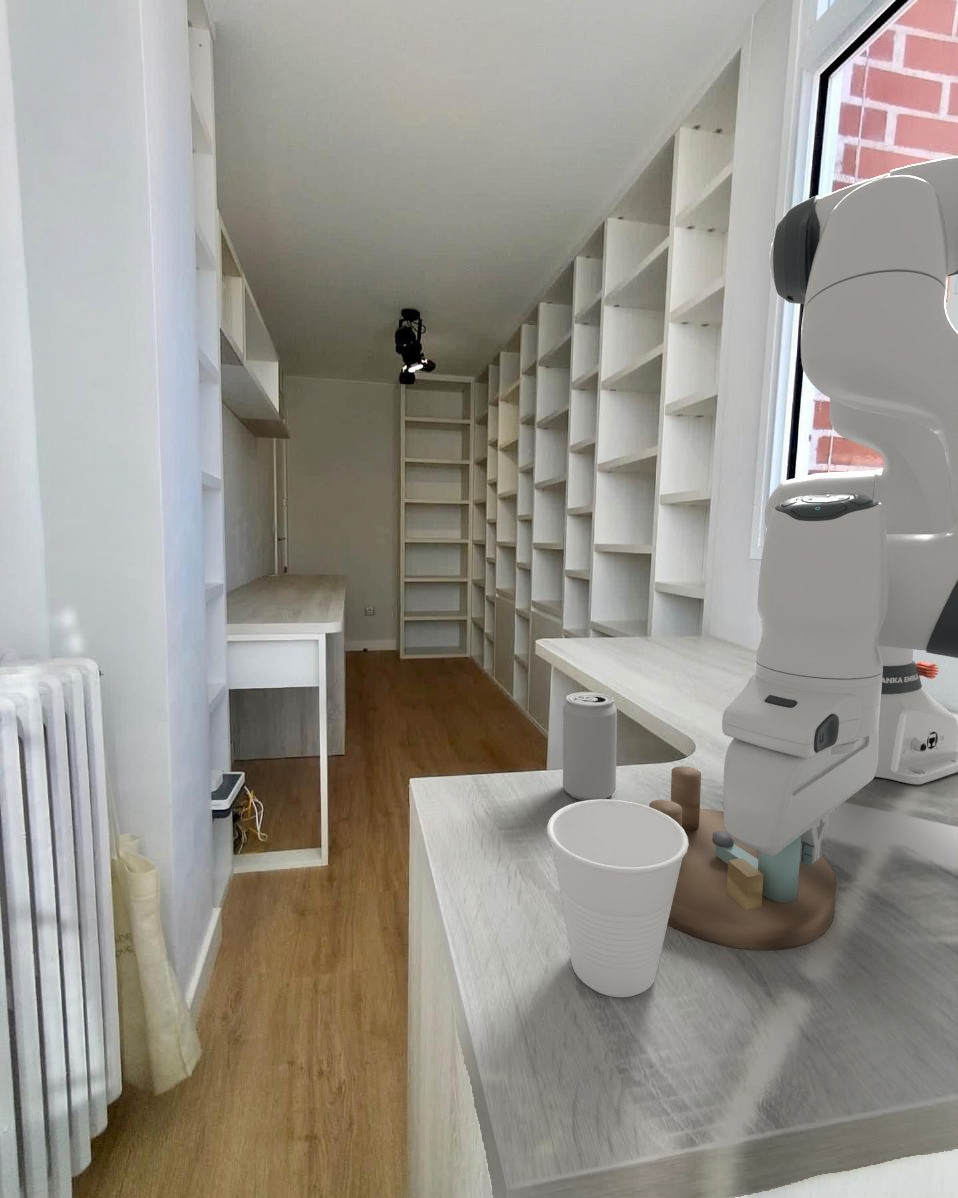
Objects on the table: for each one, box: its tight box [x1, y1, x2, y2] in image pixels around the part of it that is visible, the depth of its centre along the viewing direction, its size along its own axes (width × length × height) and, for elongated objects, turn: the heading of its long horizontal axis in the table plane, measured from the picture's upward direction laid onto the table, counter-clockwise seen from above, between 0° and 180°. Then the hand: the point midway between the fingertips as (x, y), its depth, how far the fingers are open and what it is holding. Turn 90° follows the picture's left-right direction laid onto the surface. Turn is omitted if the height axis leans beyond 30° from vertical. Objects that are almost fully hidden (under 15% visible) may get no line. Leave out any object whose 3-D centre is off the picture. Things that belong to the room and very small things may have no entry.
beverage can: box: [562, 691, 618, 801], centre depth 73 cm, size 6×6×12 cm
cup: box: [546, 798, 689, 998], centre depth 44 cm, size 10×10×11 cm
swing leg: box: [712, 831, 801, 903], centre depth 52 cm, size 8×3×5 cm, turn 22°
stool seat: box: [648, 765, 837, 951], centre depth 55 cm, size 18×18×8 cm
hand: (805, 859), depth 50 cm, fingers closed
